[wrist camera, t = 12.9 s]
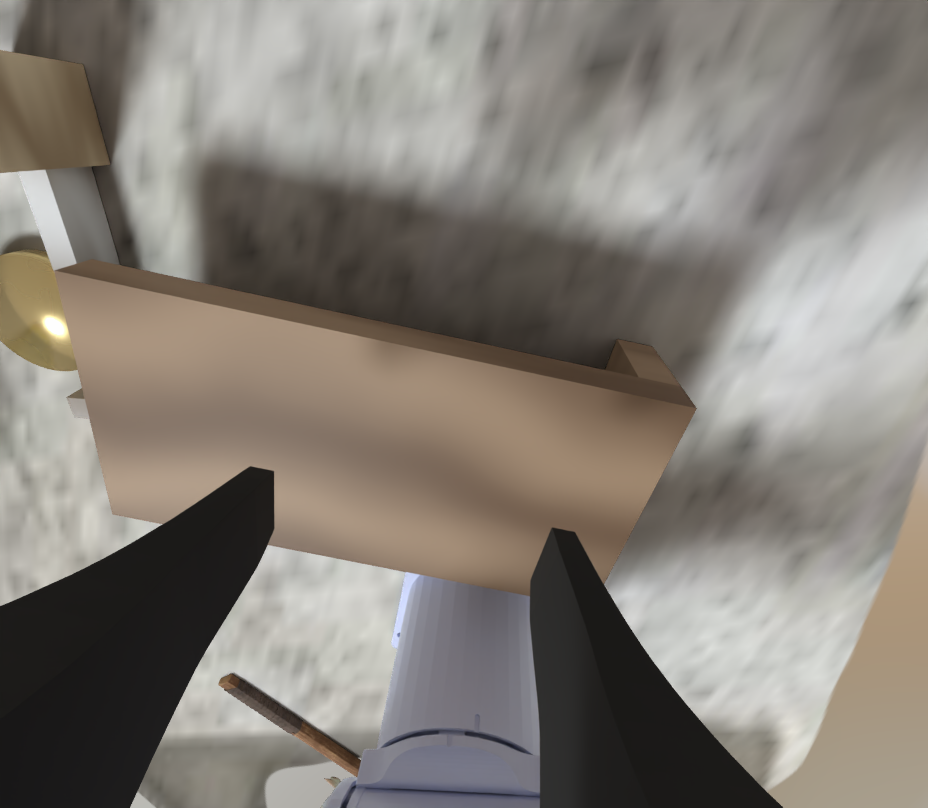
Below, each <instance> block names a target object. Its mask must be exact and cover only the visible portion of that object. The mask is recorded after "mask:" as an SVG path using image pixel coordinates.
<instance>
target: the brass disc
mask: <svg viewBox="0 0 928 808" xmlns="http://www.w3.org/2000/svg"><path fill="white" fill-rule="evenodd" d="M0 341H1V342H2V343H3V344H5V345H6V346H7V347H8V348H9V349H11V350H12V351H13V352H15V353H16V354H17V355H19V356H21V357H22V358H24V359H26V360H27V361H29V362H31V363H33V364H36V365H38V366H41V367H44V368H47V369H51V370H57V371H73V370H78V369H77V365H76V360H75V356H74V352H73V348H72V344H71V340H70V336H69V331H68V327H67V323H66V319H65V315H64V311H63V307H62V302H61V298H60V294H59V290H58V286H57V282H56V277H55V273H54V271H53V268H52V265H51V262H50V260H49V257H48V254H47V252H44V251H39V250H20V251H15V252H11V253H7V254H3V255H0Z"/></svg>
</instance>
